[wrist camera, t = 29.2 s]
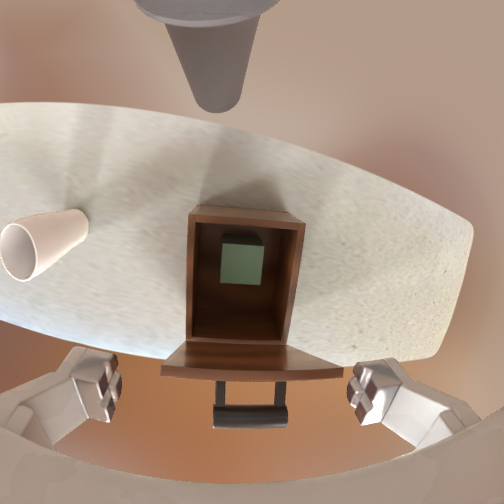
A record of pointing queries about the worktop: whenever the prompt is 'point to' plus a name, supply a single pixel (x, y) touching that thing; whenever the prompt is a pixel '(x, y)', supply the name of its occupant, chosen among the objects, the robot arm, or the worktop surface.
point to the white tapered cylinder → (40, 241)
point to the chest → (241, 295)
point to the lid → (247, 377)
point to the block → (241, 260)
